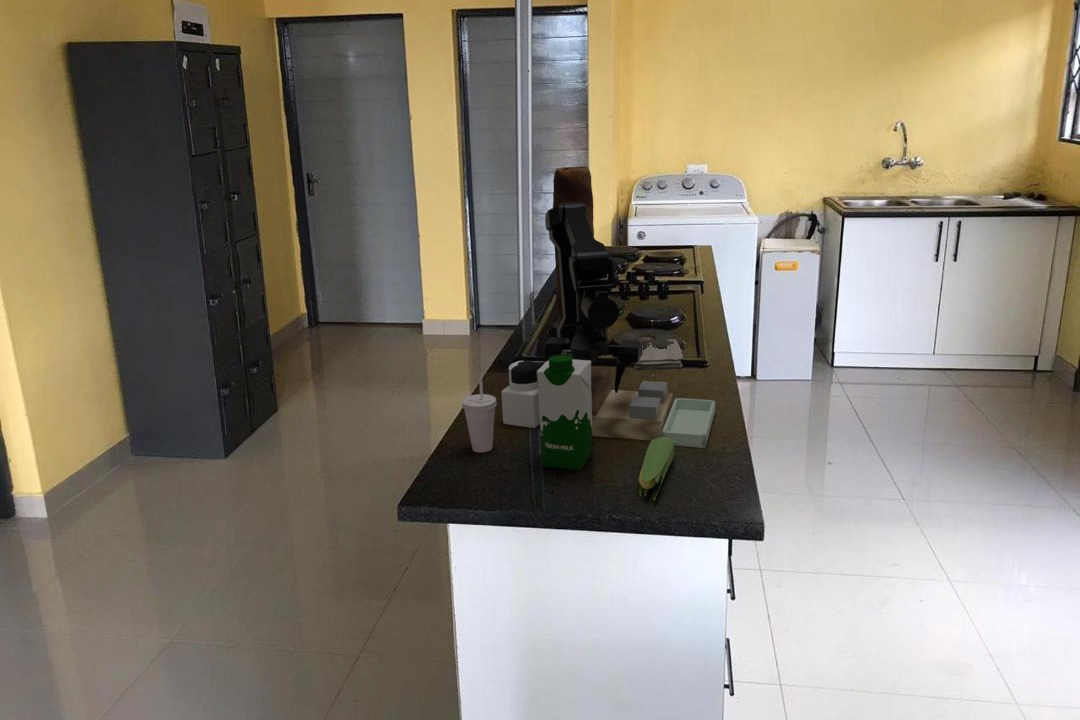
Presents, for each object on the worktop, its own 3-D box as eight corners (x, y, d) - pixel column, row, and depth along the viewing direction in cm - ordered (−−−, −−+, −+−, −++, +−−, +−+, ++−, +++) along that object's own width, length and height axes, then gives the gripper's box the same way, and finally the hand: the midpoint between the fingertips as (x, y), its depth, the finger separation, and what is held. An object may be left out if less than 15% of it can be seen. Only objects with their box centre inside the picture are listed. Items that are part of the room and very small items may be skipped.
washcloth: (634, 372, 200) (634, 359, 199) (627, 349, 218) (627, 337, 217) (686, 370, 200) (686, 358, 199) (675, 347, 217) (675, 335, 216)
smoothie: (494, 456, 158) (490, 384, 154) (460, 454, 159) (455, 383, 155) (503, 442, 164) (498, 372, 160) (470, 440, 165) (465, 371, 161)
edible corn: (680, 435, 153) (656, 426, 154) (661, 488, 136) (634, 478, 136) (672, 459, 156) (648, 450, 156) (652, 515, 138) (625, 504, 139)
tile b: (629, 418, 162) (629, 405, 161) (634, 408, 167) (634, 396, 166) (656, 420, 161) (656, 407, 160) (660, 410, 165) (660, 398, 164)
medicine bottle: (550, 415, 176) (547, 359, 172) (535, 428, 170) (532, 370, 166) (518, 411, 179) (515, 356, 175) (502, 424, 172) (499, 367, 169)
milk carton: (536, 468, 152) (531, 360, 146) (552, 448, 160) (548, 344, 154) (584, 473, 150) (581, 363, 143) (598, 452, 158) (595, 347, 151)
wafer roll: (554, 356, 213) (547, 169, 199) (560, 343, 223) (554, 165, 209) (596, 356, 211) (592, 168, 197) (600, 343, 221) (597, 164, 207)
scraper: (575, 414, 165) (574, 389, 164) (592, 389, 178) (591, 366, 176) (595, 415, 164) (595, 391, 162) (611, 390, 177) (610, 367, 175)
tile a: (638, 401, 170) (638, 389, 170) (642, 392, 175) (642, 380, 174) (663, 402, 169) (663, 390, 168) (667, 394, 173) (667, 382, 173)
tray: (661, 444, 160) (661, 432, 159) (675, 409, 176) (675, 397, 175) (705, 448, 158) (705, 435, 157) (715, 412, 174) (715, 400, 173)
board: (572, 434, 166) (572, 415, 165) (590, 406, 180) (590, 388, 178) (661, 441, 161) (661, 421, 160) (672, 412, 175) (672, 393, 174)
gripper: (532, 324, 161) (536, 402, 166) (632, 328, 155) (632, 409, 160) (549, 308, 171) (552, 382, 176) (643, 311, 166) (643, 388, 170)
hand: (593, 390), depth 170 cm, fingers open, 9 cm apart
